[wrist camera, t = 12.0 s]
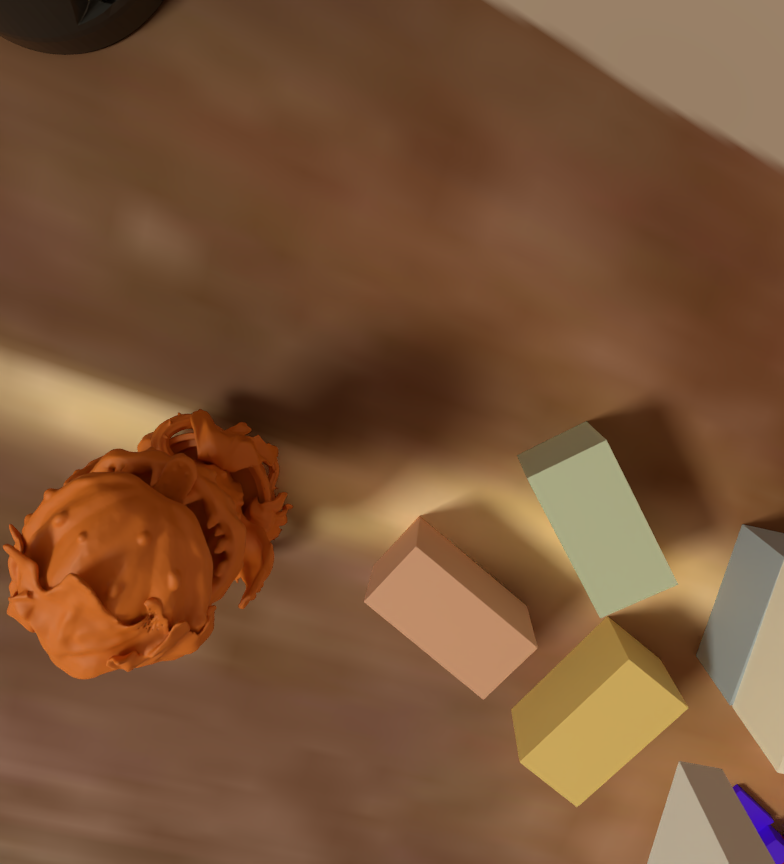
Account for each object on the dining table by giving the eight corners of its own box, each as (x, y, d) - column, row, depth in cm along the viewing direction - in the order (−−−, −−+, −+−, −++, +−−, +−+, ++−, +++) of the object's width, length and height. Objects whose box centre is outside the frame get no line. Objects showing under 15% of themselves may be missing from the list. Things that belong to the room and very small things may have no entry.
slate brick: (741, 523, 39) (784, 557, 34) (816, 540, 39) (870, 576, 34) (695, 655, 41) (729, 704, 36) (766, 671, 41) (810, 723, 36)
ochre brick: (606, 615, 41) (628, 659, 36) (659, 658, 41) (688, 707, 36) (510, 708, 43) (519, 762, 38) (562, 748, 43) (577, 807, 38)
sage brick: (516, 454, 39) (527, 478, 34) (585, 420, 38) (606, 439, 33) (581, 578, 40) (600, 618, 35) (649, 548, 40) (678, 584, 35)
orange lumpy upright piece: (344, 455, 40) (265, 586, 22) (259, 591, 42) (127, 806, 25) (188, 357, 39) (-20, 413, 22) (111, 501, 42) (-133, 655, 24)
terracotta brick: (373, 564, 41) (363, 601, 36) (419, 515, 40) (416, 546, 35) (478, 651, 42) (483, 699, 37) (526, 605, 41) (537, 647, 36)
